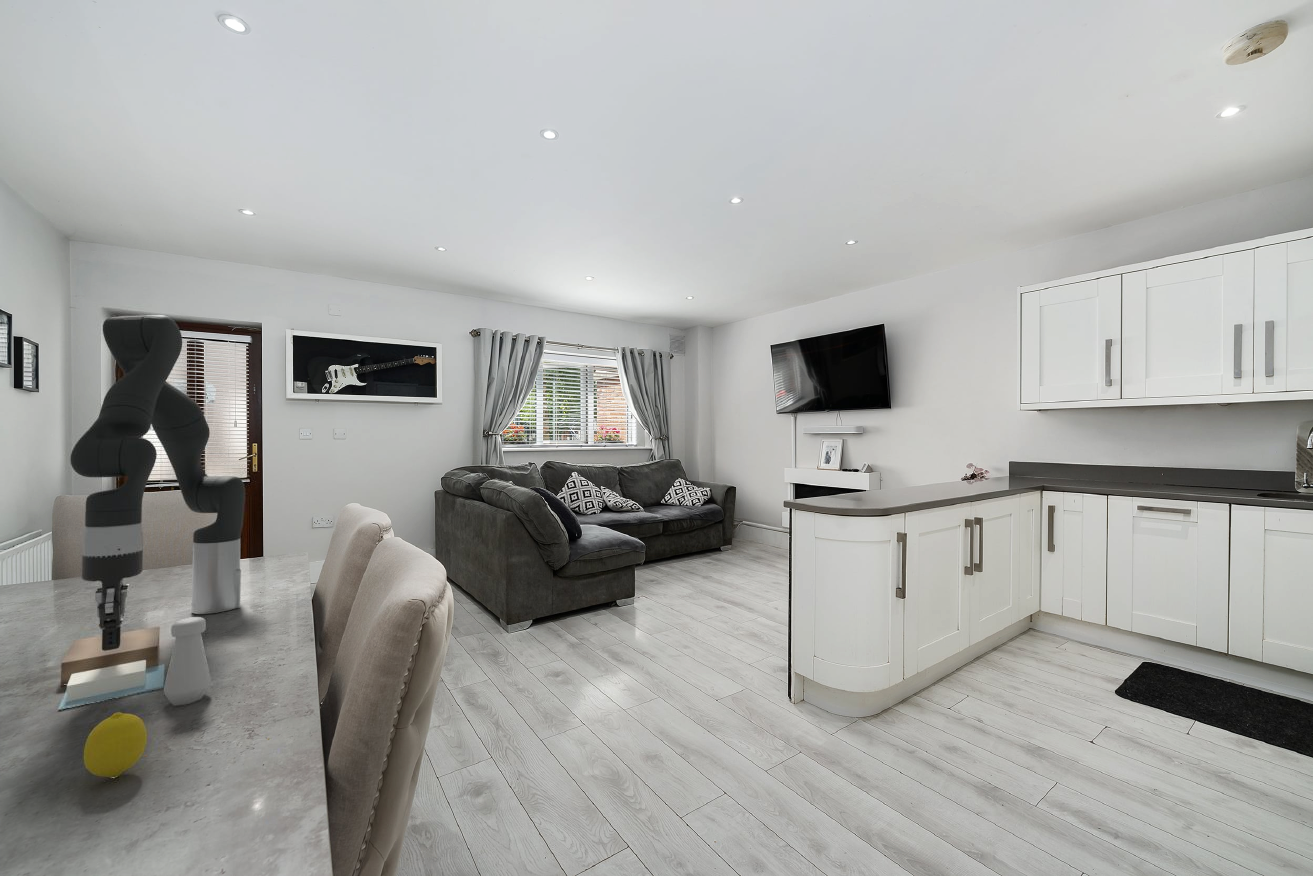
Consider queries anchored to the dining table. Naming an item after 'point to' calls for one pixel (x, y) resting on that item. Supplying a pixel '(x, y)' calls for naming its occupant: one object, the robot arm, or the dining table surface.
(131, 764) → the lemon
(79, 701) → the mat
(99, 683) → the white bevelled block
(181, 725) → the dining table surface
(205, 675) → the salt shaker
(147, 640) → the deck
